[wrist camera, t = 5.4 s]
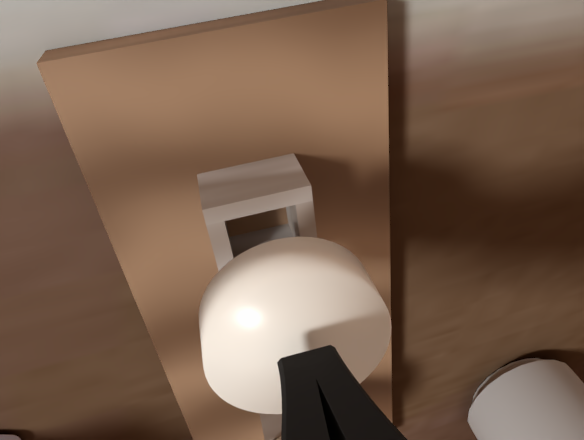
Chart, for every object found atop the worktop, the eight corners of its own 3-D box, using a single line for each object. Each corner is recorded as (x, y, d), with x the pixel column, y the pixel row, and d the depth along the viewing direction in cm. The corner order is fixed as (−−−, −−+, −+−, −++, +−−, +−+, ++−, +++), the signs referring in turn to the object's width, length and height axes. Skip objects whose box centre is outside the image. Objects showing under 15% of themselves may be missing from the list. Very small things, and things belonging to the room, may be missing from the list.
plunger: (348, 294, 18) (392, 385, 14) (211, 329, 17) (224, 433, 14) (338, 174, 15) (390, 253, 12) (175, 211, 14) (180, 305, 11)
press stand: (383, 426, 32) (409, 486, 28) (215, 475, 30) (222, 544, 27) (370, -9, 17) (421, 13, 14) (45, 50, 16) (17, 89, 13)
